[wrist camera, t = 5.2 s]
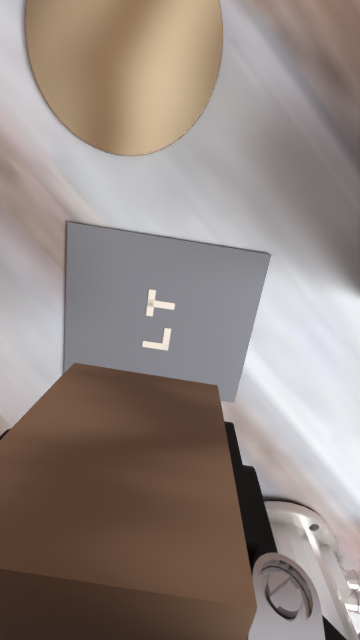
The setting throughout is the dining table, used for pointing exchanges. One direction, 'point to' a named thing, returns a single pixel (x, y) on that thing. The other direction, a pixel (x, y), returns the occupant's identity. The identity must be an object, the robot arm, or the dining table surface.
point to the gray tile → (160, 305)
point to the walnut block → (122, 514)
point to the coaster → (125, 67)
